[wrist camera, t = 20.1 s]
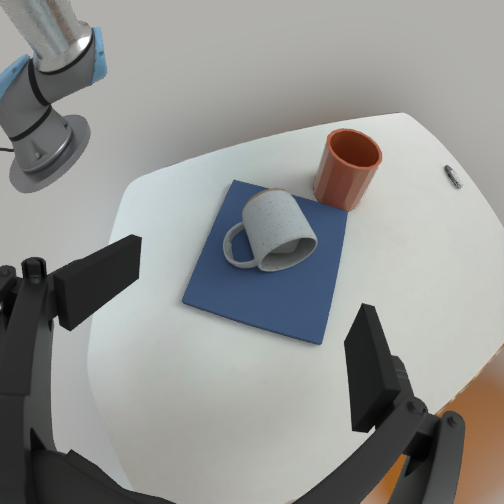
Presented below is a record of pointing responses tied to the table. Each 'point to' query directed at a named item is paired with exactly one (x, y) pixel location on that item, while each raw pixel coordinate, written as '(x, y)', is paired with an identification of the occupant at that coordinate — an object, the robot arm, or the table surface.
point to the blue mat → (269, 273)
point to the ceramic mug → (273, 232)
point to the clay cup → (346, 168)
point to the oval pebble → (454, 176)
